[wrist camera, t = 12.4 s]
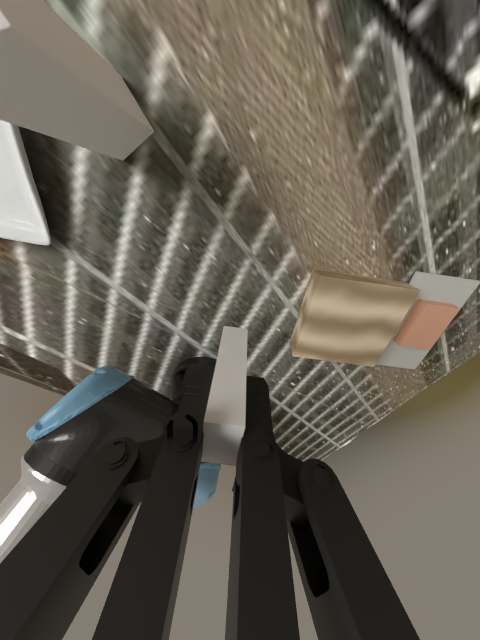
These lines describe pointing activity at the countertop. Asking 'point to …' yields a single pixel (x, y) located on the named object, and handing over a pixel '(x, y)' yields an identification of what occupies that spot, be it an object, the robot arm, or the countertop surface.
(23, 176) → the square plate
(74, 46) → the milk
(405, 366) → the mat
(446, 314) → the pink block
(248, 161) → the countertop surface
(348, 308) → the board
